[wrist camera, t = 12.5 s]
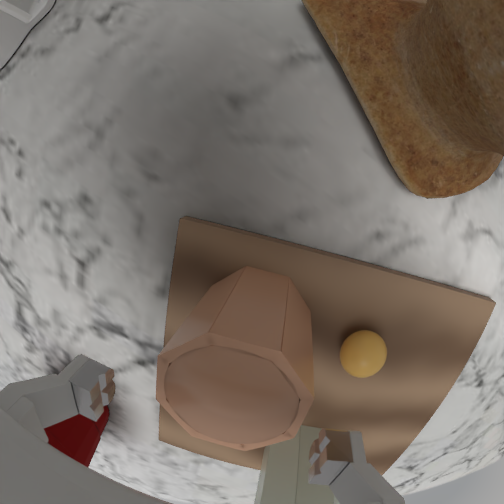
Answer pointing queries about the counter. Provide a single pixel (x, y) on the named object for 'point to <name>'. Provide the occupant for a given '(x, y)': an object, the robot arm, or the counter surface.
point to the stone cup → (425, 83)
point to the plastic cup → (78, 436)
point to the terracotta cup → (241, 363)
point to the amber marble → (363, 354)
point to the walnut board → (339, 335)
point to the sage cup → (291, 473)
